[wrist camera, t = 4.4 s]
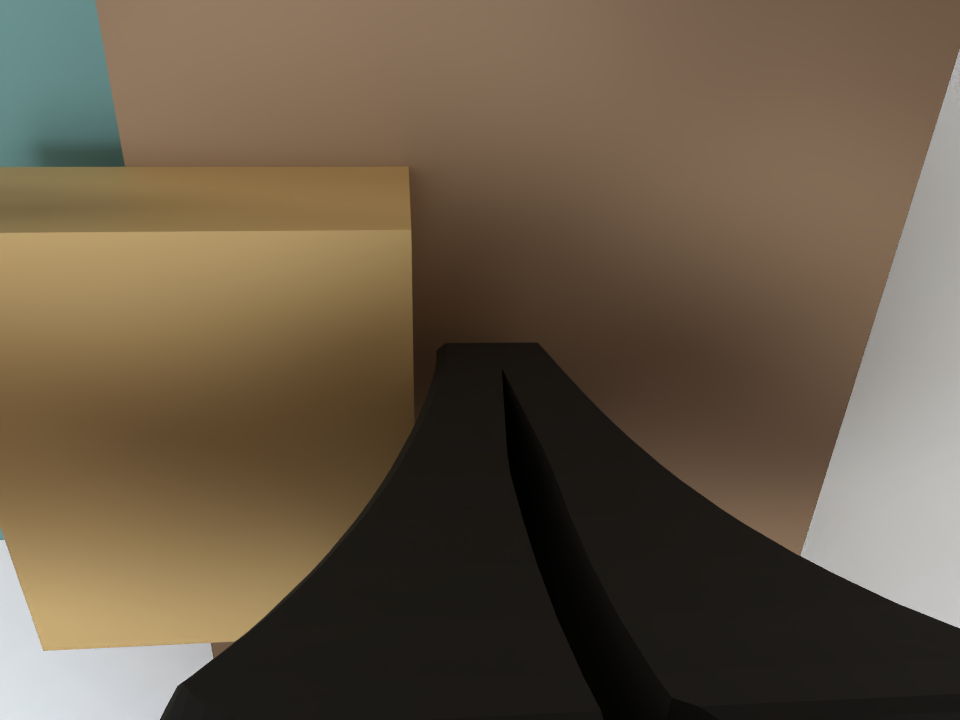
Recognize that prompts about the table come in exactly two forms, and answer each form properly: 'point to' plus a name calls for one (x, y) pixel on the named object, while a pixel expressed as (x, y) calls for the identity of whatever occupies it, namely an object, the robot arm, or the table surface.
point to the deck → (596, 187)
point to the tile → (194, 387)
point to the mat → (55, 88)
